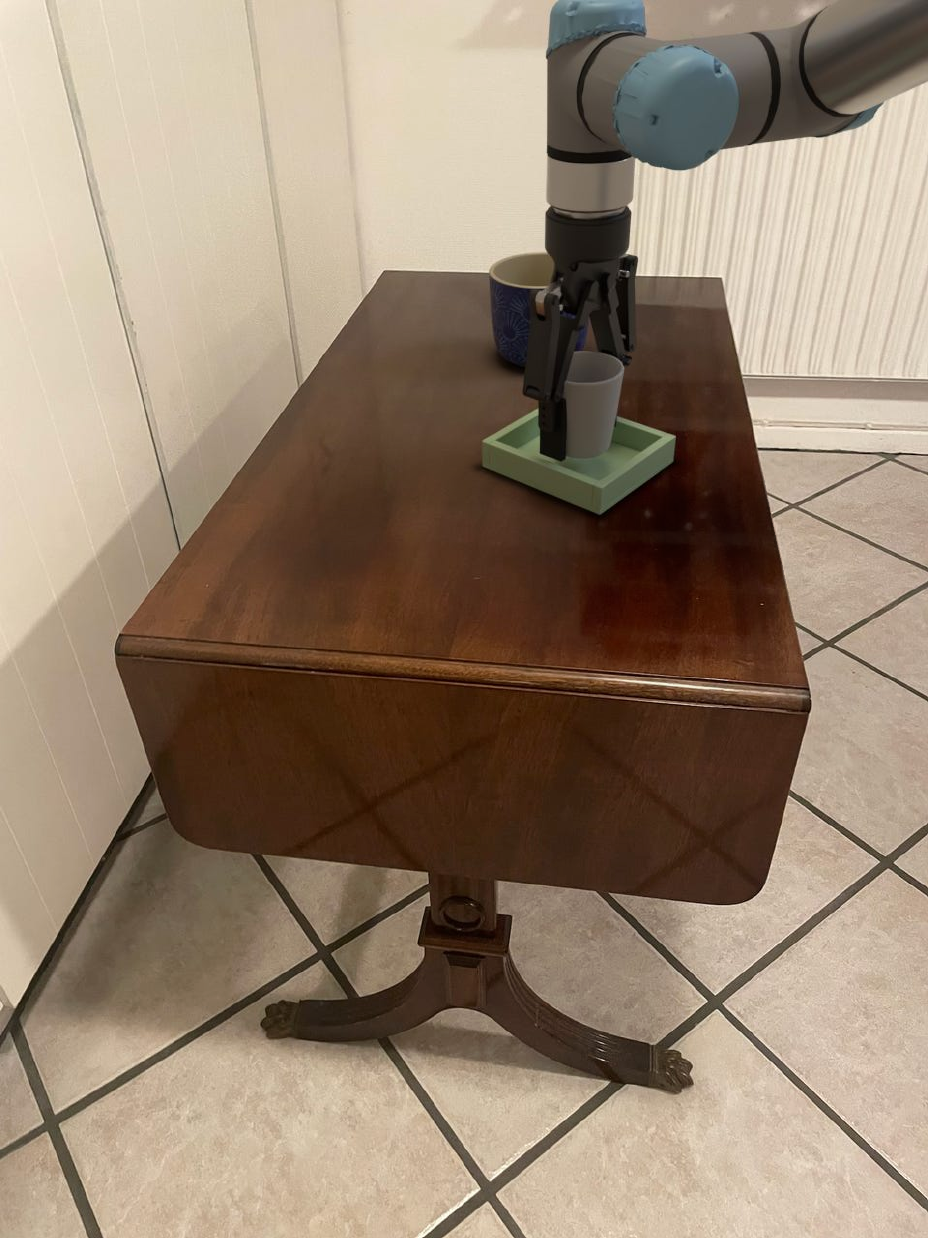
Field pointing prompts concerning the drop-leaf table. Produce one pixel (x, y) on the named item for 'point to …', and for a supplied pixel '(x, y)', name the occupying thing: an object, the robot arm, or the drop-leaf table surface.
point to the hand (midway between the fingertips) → (578, 439)
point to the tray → (580, 462)
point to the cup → (591, 402)
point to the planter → (519, 302)
